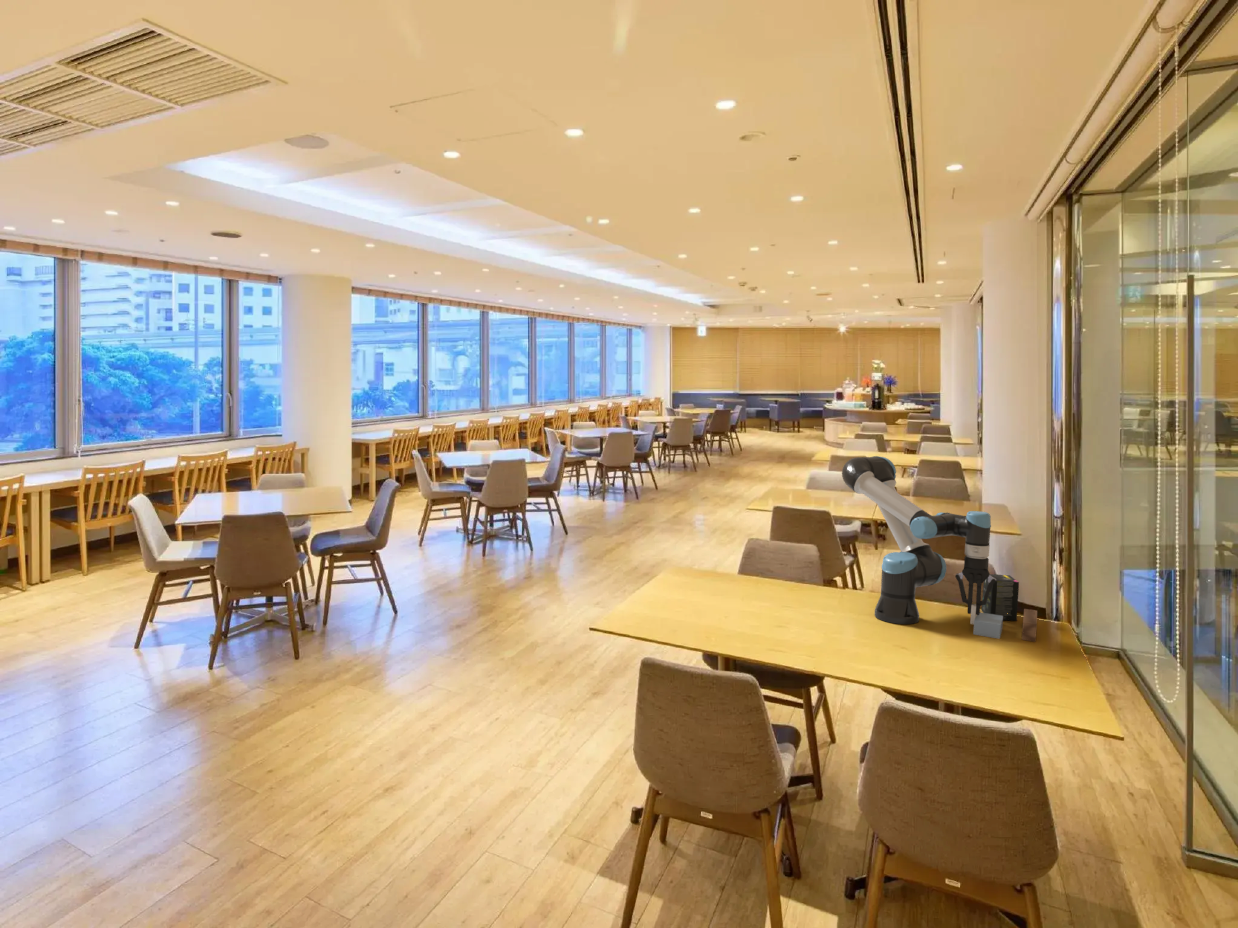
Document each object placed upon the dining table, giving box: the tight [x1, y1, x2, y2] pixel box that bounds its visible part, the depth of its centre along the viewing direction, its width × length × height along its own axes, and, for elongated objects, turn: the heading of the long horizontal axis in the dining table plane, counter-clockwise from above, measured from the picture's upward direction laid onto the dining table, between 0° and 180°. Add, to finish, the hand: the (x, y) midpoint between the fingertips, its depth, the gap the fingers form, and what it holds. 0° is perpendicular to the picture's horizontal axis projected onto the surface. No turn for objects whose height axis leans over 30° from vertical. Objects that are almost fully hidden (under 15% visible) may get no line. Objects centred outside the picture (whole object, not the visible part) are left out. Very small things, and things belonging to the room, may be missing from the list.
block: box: [973, 611, 1004, 639], centre depth 252 cm, size 8×12×5 cm, turn 149°
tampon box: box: [981, 573, 1020, 622], centre depth 269 cm, size 11×9×15 cm
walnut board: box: [1021, 608, 1038, 643], centre depth 251 cm, size 4×18×6 cm, turn 150°
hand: (973, 623), depth 254 cm, fingers closed
